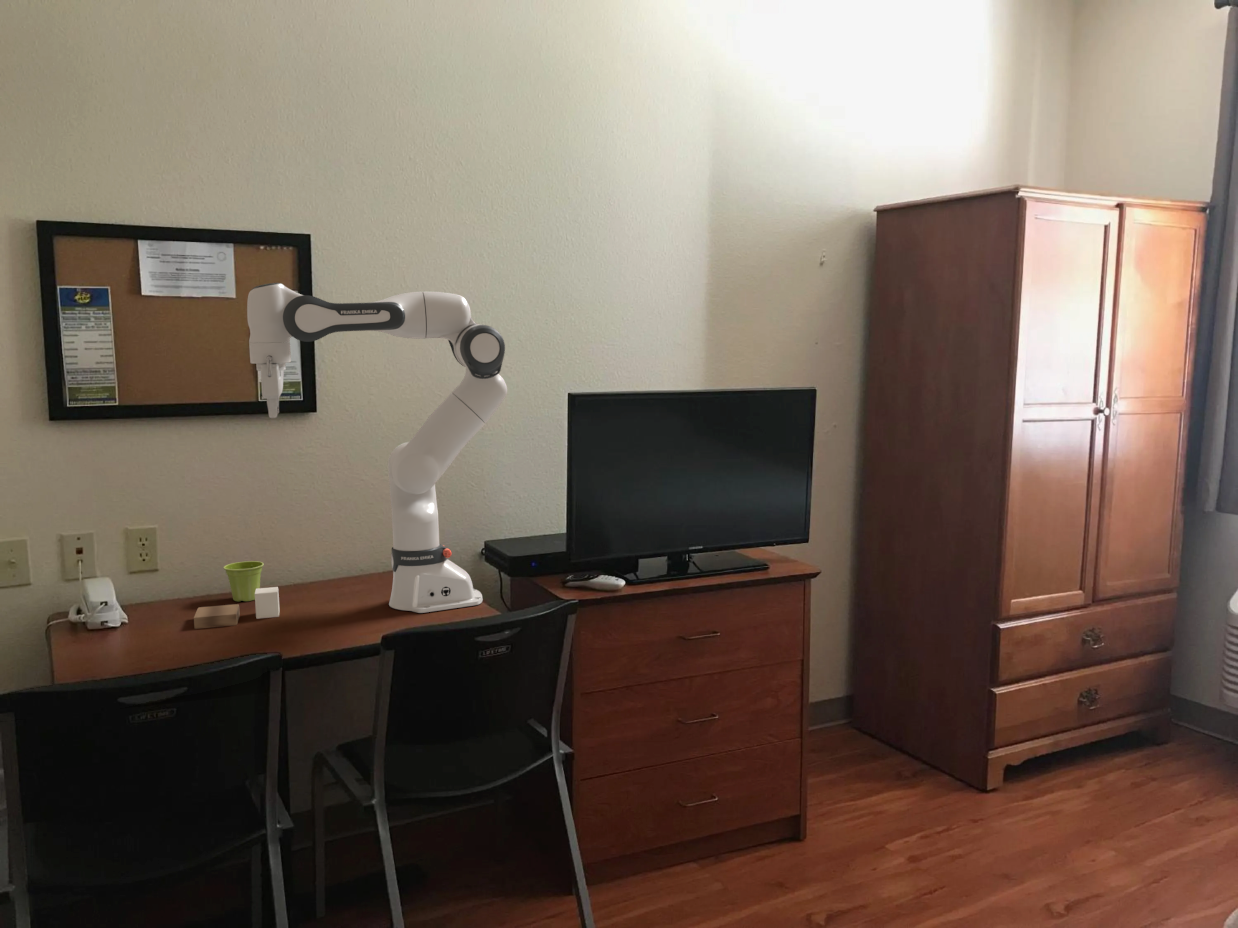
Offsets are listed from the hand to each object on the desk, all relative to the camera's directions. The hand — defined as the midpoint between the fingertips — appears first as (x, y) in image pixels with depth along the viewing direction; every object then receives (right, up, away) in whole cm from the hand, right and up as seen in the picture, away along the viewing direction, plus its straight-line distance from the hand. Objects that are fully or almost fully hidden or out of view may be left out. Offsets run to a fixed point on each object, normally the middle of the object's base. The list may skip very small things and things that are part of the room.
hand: (274, 416), depth 233 cm
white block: (-4, -47, +7) cm, 47 cm away
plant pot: (-14, -45, +22) cm, 52 cm away
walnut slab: (-14, -48, +2) cm, 50 cm away
